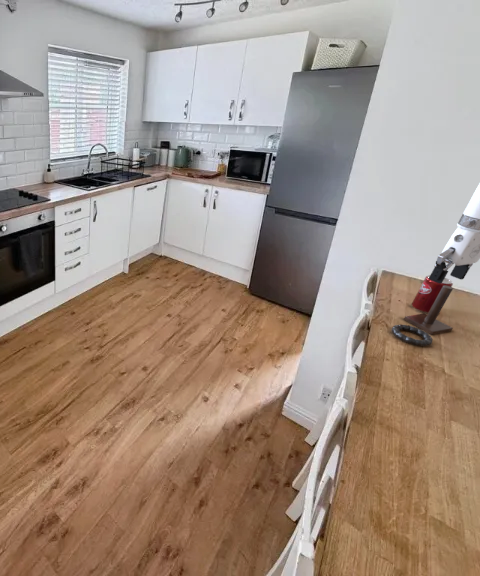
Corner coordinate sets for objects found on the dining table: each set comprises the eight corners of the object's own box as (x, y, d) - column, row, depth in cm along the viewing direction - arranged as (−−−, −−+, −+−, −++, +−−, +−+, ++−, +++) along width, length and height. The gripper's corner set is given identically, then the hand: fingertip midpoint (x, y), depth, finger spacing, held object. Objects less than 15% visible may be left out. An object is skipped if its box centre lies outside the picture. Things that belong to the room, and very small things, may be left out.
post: (451, 331, 118) (474, 292, 112) (431, 334, 116) (454, 295, 109) (422, 316, 126) (442, 279, 119) (403, 319, 124) (422, 281, 117)
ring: (438, 344, 111) (441, 339, 110) (415, 349, 109) (417, 344, 108) (406, 326, 120) (408, 321, 119) (383, 330, 117) (385, 325, 116)
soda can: (411, 309, 130) (427, 279, 124) (410, 301, 135) (425, 272, 129) (437, 317, 126) (455, 286, 120) (435, 308, 131) (452, 278, 126)
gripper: (473, 230, 94) (440, 288, 102) (513, 225, 100) (478, 281, 108) (441, 221, 100) (412, 277, 109) (480, 217, 106) (450, 270, 114)
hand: (445, 279), depth 108 cm, fingers open, 9 cm apart
